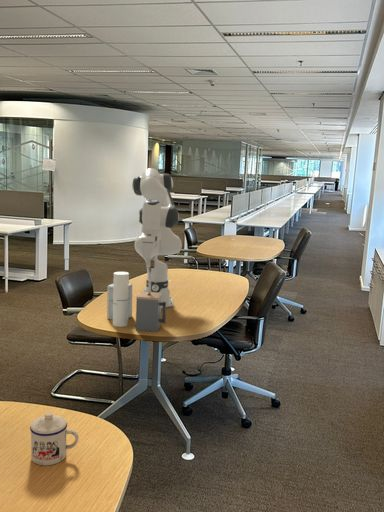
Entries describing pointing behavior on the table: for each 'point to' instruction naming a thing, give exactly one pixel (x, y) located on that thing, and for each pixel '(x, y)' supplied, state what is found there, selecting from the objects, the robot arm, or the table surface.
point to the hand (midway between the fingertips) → (150, 265)
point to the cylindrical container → (120, 299)
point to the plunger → (150, 276)
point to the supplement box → (110, 301)
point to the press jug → (149, 311)
